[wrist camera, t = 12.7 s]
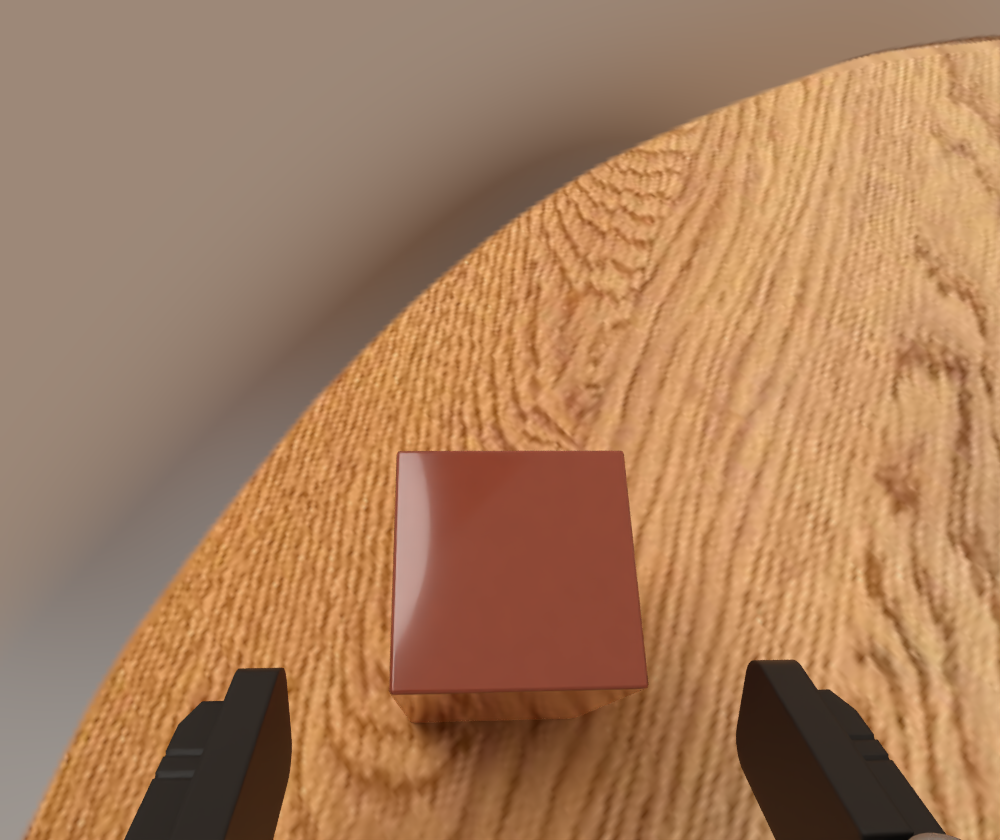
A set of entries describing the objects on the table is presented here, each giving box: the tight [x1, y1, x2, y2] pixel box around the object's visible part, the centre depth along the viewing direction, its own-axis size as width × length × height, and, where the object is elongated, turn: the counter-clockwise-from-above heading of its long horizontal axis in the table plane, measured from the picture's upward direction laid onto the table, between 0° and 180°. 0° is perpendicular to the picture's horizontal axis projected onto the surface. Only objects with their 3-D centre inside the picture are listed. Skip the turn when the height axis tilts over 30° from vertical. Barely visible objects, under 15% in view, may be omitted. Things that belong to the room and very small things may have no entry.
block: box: [389, 451, 648, 723], centre depth 17 cm, size 4×4×8 cm
